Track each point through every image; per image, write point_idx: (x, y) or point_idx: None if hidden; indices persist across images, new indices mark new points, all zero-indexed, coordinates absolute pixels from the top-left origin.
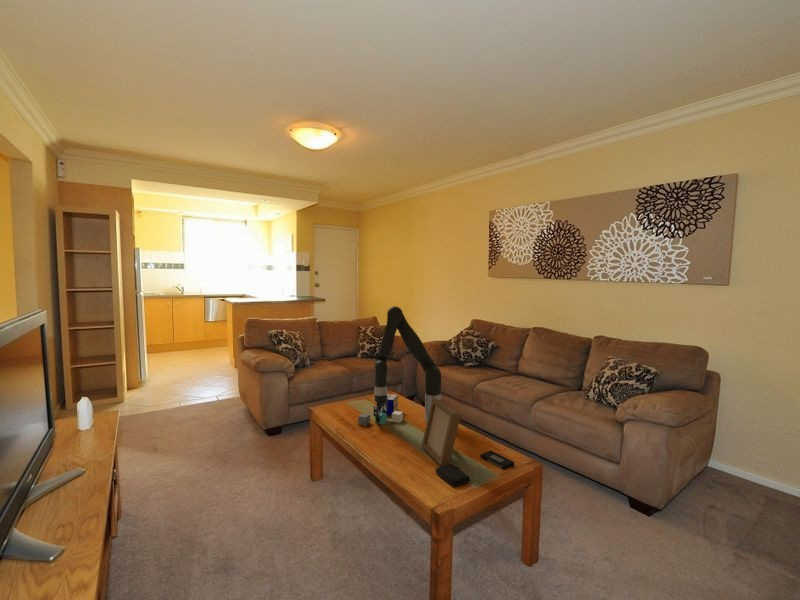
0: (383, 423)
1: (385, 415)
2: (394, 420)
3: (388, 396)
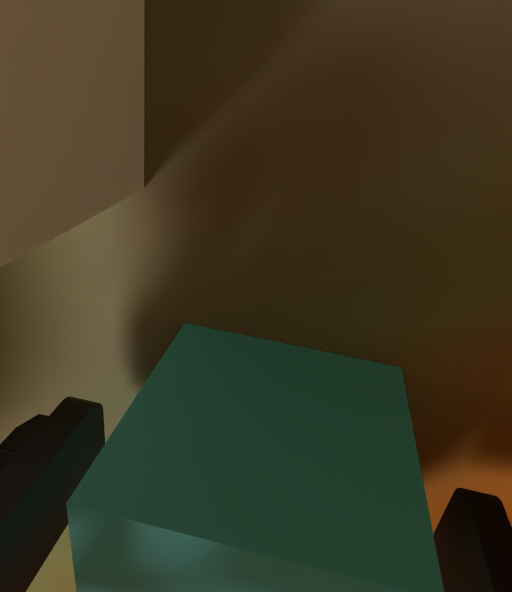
0: (363, 364)
1: (187, 477)
2: (121, 96)
3: None
